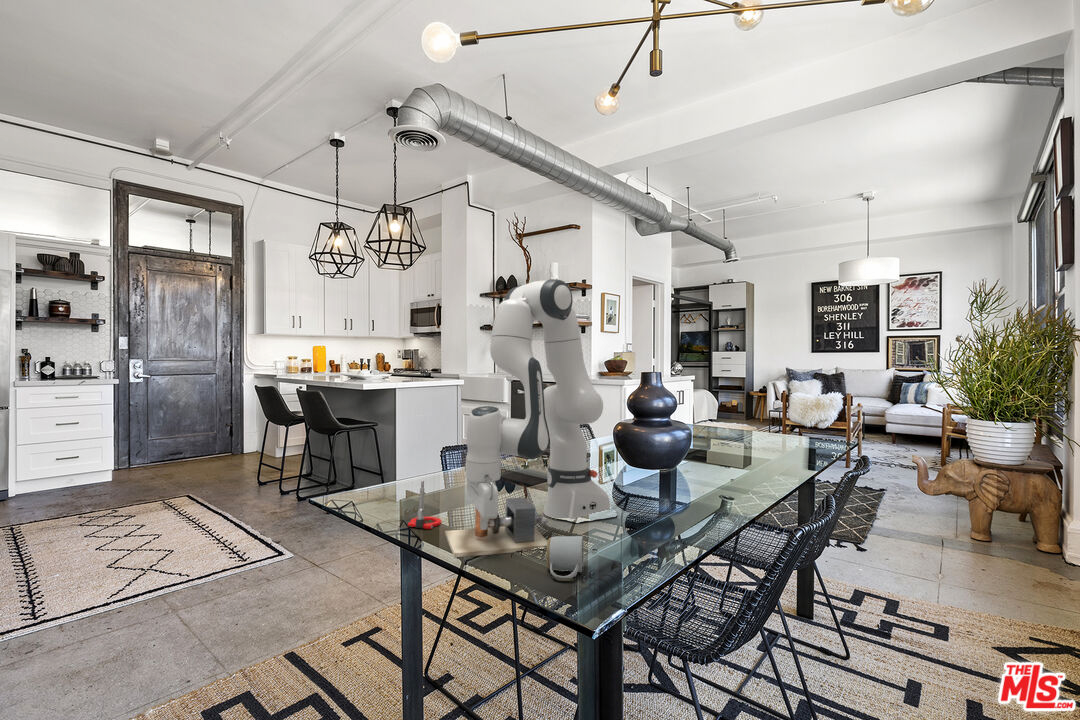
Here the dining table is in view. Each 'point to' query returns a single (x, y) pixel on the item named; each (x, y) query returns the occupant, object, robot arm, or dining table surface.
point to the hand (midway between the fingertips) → (481, 525)
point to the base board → (488, 542)
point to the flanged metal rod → (501, 523)
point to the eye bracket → (520, 520)
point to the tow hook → (420, 520)
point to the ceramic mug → (565, 554)
